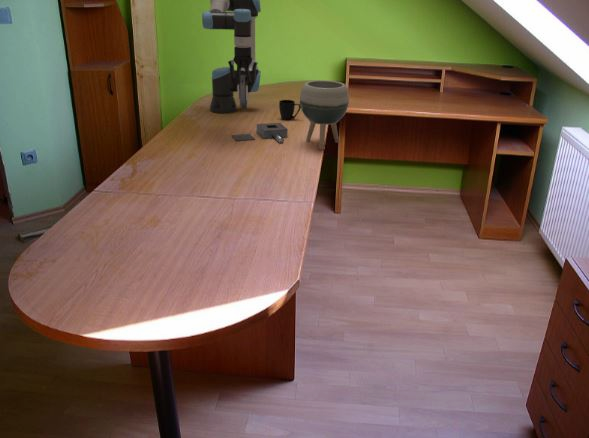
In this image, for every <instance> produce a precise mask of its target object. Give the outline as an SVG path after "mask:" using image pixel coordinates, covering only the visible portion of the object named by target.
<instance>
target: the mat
mask: <svg viewBox="0 0 589 438" xmlns="http://www.w3.org/2000/svg"><path fill="white" fill-rule="evenodd" d="M231 137H232V138H233V139H234V141H235V142H244V141H245V142H246V141H247V142H248V141H254V140H256V139H255V138H254V137H253V135H252V134H250V133H239V134H238V133H237V134H231Z"/></svg>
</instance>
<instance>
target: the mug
mask: <svg viewBox="0 0 589 438" xmlns="http://www.w3.org/2000/svg"><path fill="white" fill-rule="evenodd" d="M295 106H298V109H297V111H296V113H295ZM278 108H279V114H280V118H281V120H283V121H292V120H294V119H295V118H296V116H297V115H298V114H299V112H300V110H301V106H300V103H296V102H295V101H294V100H293V99H282V100H279V104H278ZM294 113H295V114H294Z"/></svg>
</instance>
